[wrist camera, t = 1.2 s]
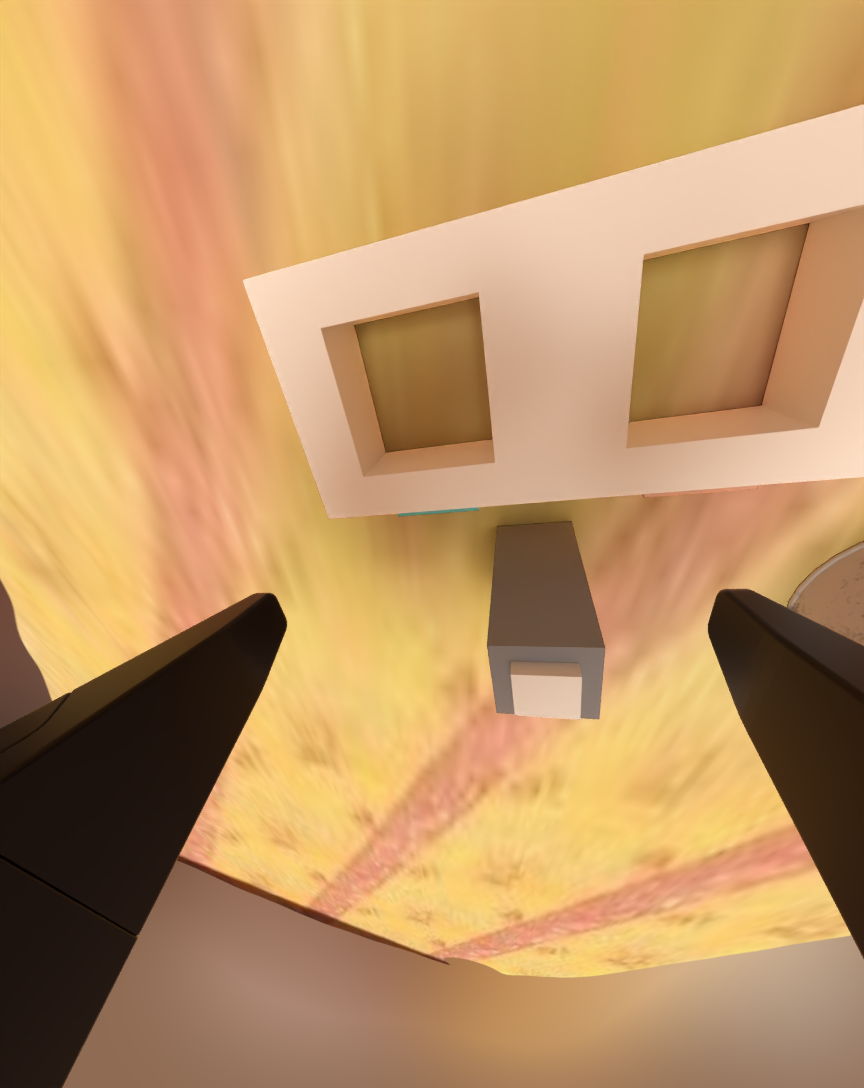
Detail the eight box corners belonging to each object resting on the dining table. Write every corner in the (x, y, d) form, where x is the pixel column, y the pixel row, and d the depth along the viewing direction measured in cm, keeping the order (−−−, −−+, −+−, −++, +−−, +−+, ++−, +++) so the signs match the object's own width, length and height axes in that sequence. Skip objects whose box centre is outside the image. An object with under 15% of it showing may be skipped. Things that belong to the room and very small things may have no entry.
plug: (571, 521, 20) (608, 662, 12) (570, 580, 22) (602, 734, 14) (496, 526, 21) (485, 658, 13) (502, 581, 23) (496, 726, 15)
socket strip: (936, 112, 11) (1091, 39, 8) (814, 454, 16) (881, 485, 13) (290, 285, 16) (242, 279, 13) (355, 497, 22) (331, 525, 19)
